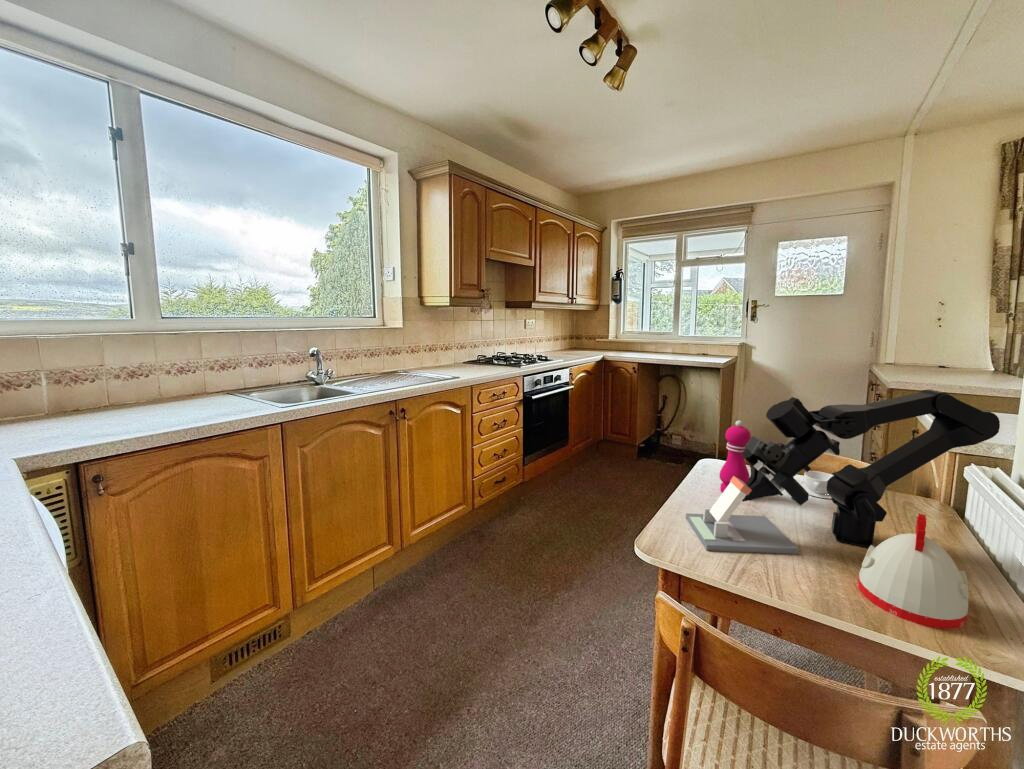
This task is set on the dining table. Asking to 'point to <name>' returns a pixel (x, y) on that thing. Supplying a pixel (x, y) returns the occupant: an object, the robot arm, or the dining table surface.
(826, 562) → the dining table surface
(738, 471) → the pepper mill
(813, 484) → the teacup
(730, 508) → the switch lever
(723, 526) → the switch panel
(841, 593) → the dining table surface
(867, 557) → the kitchen timer
